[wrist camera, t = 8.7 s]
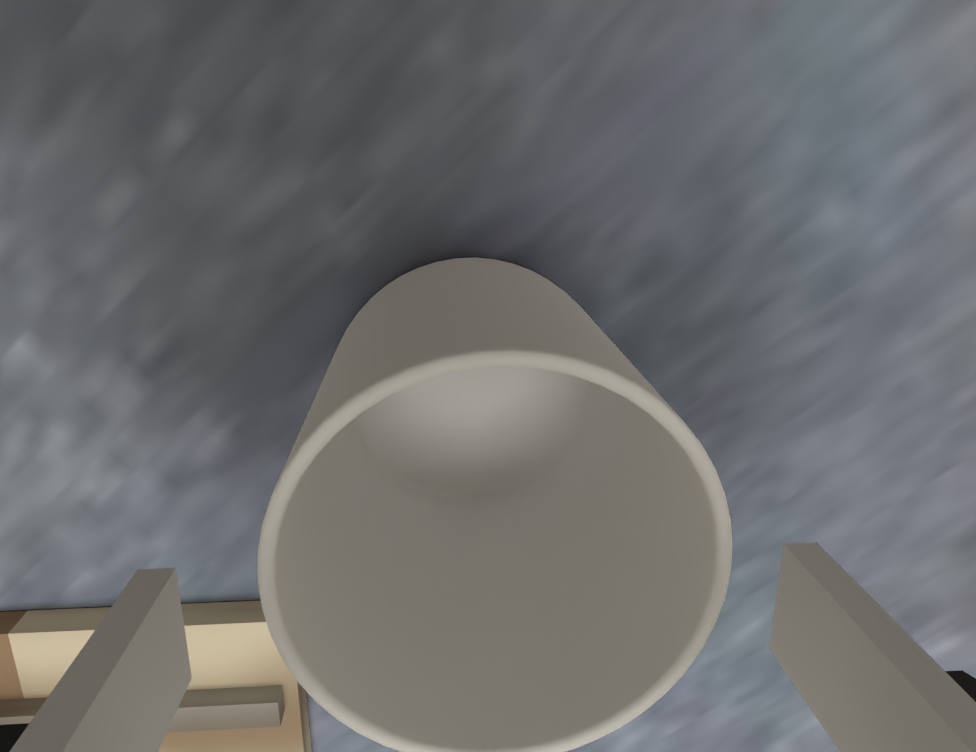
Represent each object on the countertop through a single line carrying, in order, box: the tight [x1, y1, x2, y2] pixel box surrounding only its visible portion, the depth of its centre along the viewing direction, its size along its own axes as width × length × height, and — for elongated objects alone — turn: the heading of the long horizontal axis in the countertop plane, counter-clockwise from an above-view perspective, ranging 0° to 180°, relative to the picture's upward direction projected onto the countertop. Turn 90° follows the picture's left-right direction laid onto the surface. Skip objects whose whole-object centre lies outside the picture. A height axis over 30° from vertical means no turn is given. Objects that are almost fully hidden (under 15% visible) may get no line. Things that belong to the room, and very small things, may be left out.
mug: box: [258, 258, 732, 752], centre depth 18 cm, size 9×12×11 cm
